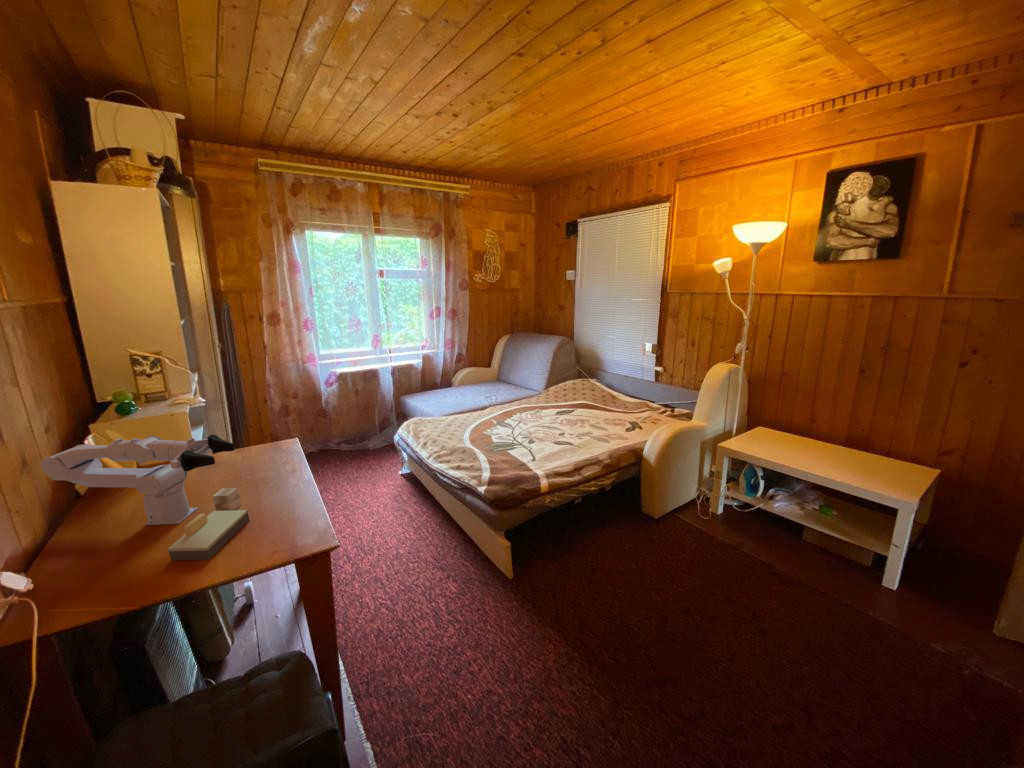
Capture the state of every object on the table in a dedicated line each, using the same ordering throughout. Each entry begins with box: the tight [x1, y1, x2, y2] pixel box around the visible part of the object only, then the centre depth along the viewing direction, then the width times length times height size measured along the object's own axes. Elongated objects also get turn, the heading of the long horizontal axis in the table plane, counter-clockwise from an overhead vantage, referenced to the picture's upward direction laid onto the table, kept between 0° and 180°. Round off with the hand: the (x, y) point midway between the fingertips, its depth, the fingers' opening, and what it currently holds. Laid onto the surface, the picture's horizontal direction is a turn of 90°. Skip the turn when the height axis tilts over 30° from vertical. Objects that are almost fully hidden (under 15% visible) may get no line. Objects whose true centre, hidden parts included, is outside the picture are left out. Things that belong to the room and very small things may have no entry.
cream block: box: [212, 487, 242, 511], centre depth 126 cm, size 4×4×6 cm
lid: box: [167, 509, 249, 552], centre depth 111 cm, size 10×17×3 cm, turn 0°
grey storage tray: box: [168, 513, 251, 561], centre depth 112 cm, size 10×17×2 cm, turn 0°
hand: (223, 453), depth 117 cm, fingers open, 7 cm apart
